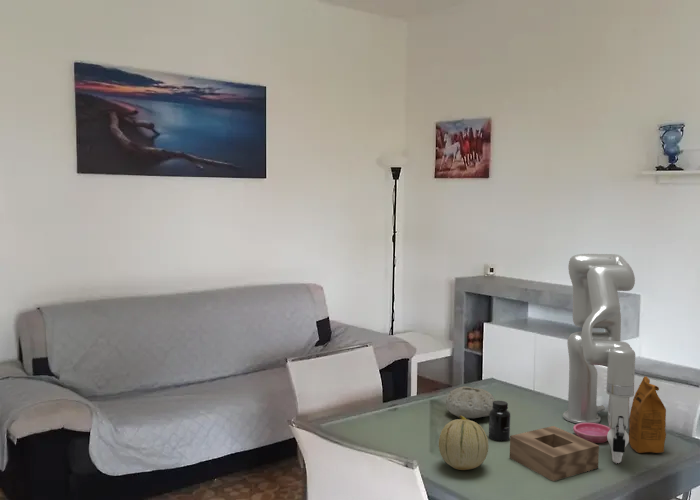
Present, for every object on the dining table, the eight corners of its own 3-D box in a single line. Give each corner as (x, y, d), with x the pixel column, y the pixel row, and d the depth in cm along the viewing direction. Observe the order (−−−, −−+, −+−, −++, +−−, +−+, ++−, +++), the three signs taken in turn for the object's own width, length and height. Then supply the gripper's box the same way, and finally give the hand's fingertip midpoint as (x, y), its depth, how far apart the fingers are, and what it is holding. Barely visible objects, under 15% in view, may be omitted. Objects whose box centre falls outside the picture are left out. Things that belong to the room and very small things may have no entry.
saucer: (568, 439, 217) (568, 430, 216) (578, 428, 227) (579, 419, 227) (607, 448, 210) (608, 438, 210) (616, 436, 220) (617, 426, 220)
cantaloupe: (455, 482, 185) (456, 430, 183) (428, 462, 198) (429, 414, 197) (498, 473, 191) (500, 423, 189) (470, 454, 204) (471, 407, 203)
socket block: (552, 447, 210) (553, 425, 209) (598, 468, 194) (599, 445, 193) (509, 457, 202) (510, 435, 201) (553, 481, 186) (554, 457, 185)
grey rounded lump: (473, 404, 250) (473, 379, 250) (506, 419, 235) (507, 391, 234) (436, 413, 241) (436, 386, 240) (468, 428, 226) (469, 400, 225)
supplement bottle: (510, 442, 214) (511, 406, 212) (488, 441, 215) (489, 405, 214) (509, 434, 220) (510, 400, 219) (488, 433, 222) (489, 398, 220)
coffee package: (657, 441, 215) (660, 375, 213) (667, 456, 203) (671, 387, 201) (624, 439, 217) (627, 373, 215) (633, 454, 205) (636, 385, 203)
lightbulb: (602, 459, 201) (603, 424, 200) (621, 458, 201) (623, 423, 200) (611, 467, 195) (613, 431, 194) (631, 467, 195) (633, 431, 194)
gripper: (604, 379, 205) (602, 435, 207) (609, 396, 189) (606, 457, 190) (630, 381, 203) (627, 438, 205) (637, 399, 186) (634, 460, 188)
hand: (617, 446), depth 197 cm, fingers closed on lightbulb, 5 cm apart
